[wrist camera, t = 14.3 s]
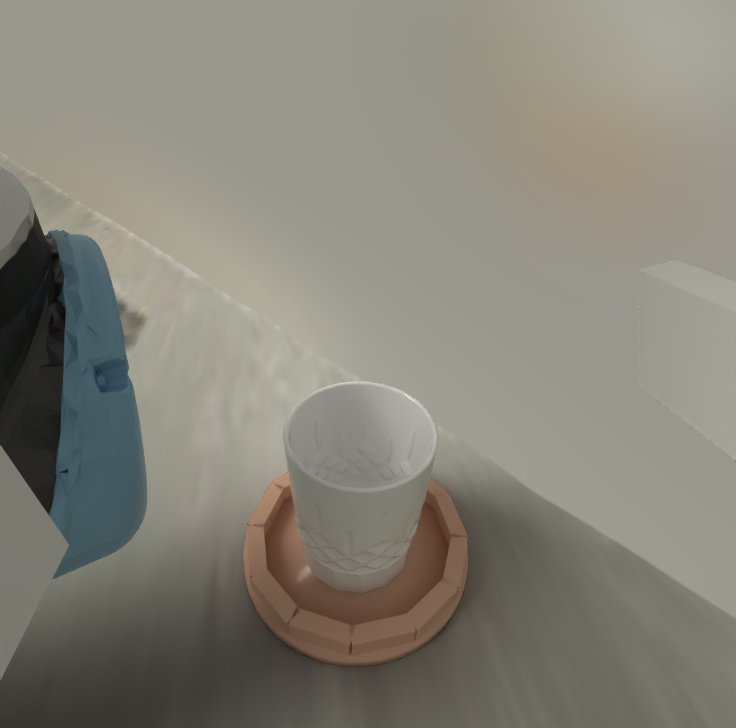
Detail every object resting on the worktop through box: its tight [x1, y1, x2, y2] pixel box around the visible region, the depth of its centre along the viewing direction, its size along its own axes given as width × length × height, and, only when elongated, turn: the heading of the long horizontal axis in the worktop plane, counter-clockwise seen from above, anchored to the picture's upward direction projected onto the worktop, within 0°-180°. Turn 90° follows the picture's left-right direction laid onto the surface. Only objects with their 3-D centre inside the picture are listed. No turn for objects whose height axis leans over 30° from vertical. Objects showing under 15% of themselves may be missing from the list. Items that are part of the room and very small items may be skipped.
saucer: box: [243, 472, 469, 667], centre depth 33 cm, size 14×14×2 cm
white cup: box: [283, 381, 438, 594], centre depth 30 cm, size 8×8×10 cm
